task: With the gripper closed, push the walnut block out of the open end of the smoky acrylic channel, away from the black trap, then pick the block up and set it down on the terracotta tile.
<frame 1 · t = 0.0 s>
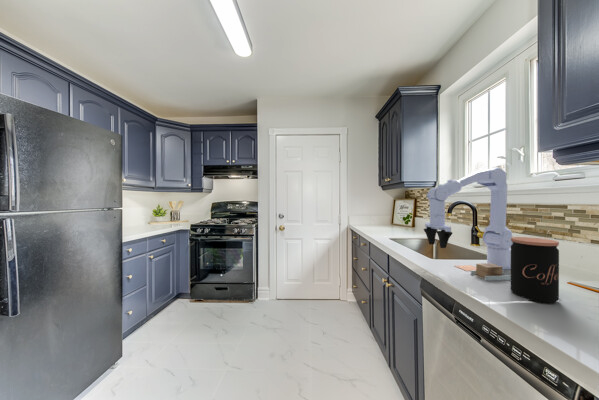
hand: (437, 246, 102), 10 cm above the worktop, tool pointing down, fingers open, 7 cm apart
coffee jar: (533, 297, 73), on the worktop
walnut block: (489, 276, 90), point 1 cm above the worktop, touching acrylic channel
acrylic channel: (494, 278, 90), on the worktop
terracotta tile: (469, 269, 101), on the worktop
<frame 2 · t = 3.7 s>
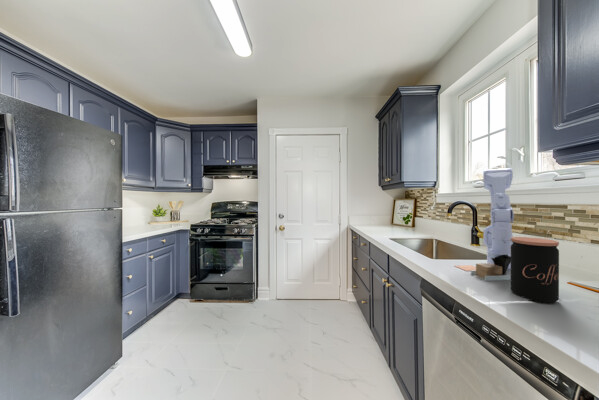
hand: (501, 274, 90), 1 cm above the worktop, tool pointing down, fingers closed
walnut block: (488, 276, 90), point 1 cm above the worktop, touching gripper
everything else where it was.
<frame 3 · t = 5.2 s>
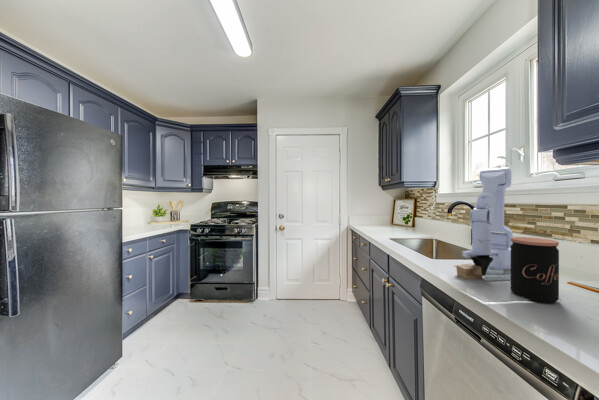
hand: (481, 275, 90), 1 cm above the worktop, tool pointing down, fingers closed
walnut block: (469, 277, 90), on the worktop, tilted 6°, touching gripper
everything else where it was.
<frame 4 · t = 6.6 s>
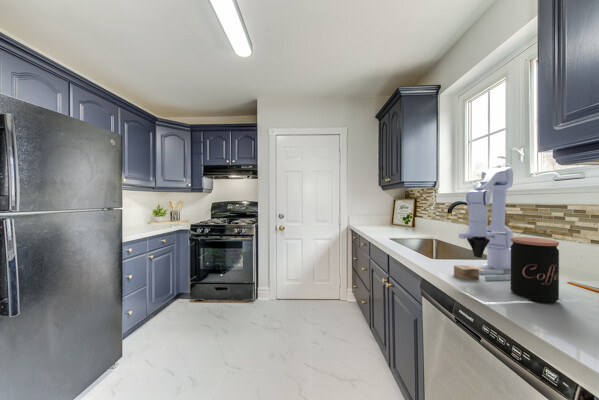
hand: (477, 257, 90), 8 cm above the worktop, tool pointing down, fingers closed
walnut block: (466, 278, 90), on the worktop
everything else where it was.
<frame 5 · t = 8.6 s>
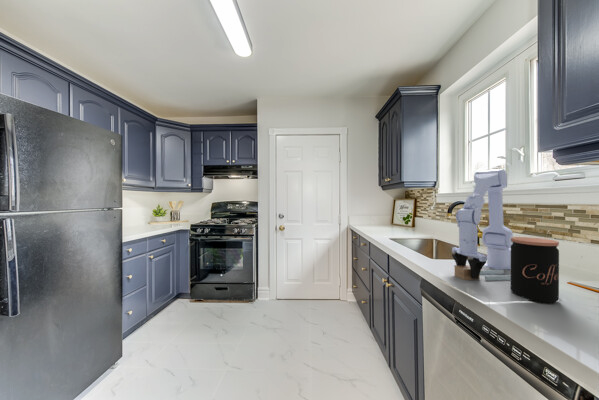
hand: (468, 275, 90), 1 cm above the worktop, tool pointing down, fingers open, 6 cm apart
walnut block: (466, 278, 90), on the worktop, touching gripper
everything else where it was.
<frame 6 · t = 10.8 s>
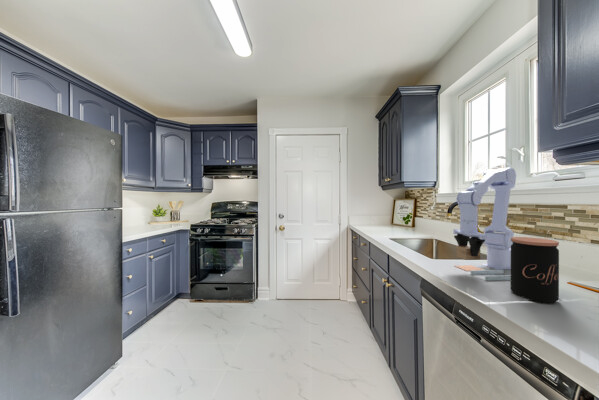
hand: (468, 254, 95), 8 cm above the worktop, tool pointing down, fingers closed on walnut block, 5 cm apart
walnut block: (468, 258, 95), point 7 cm above the worktop, touching gripper
everything else where it was.
when the fingers open (3 cm above the worktop, at t = 12.7 s): walnut block drops 1 cm, resting on terracotta tile.
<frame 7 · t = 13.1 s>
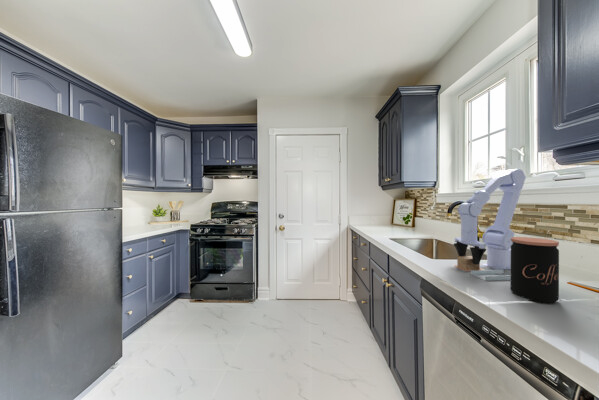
hand: (469, 261, 101), 3 cm above the worktop, tool pointing down, fingers open, 7 cm apart
walnut block: (468, 267, 101), point 1 cm above the worktop, touching terracotta tile
everything else where it was.
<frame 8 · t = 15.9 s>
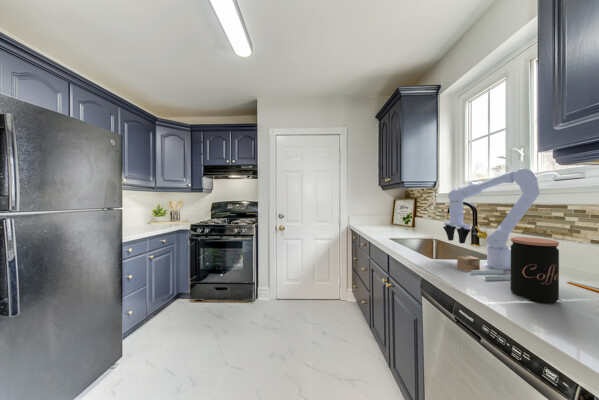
hand: (456, 241, 115), 9 cm above the worktop, tool pointing down, fingers open, 7 cm apart
nothing on the worktop moved.
at the end: walnut block 0.3 cm off-centre on the terracotta tile, point 0.8 cm above the terracotta tile's base; the gripper is holding nothing; walnut block tilted 0° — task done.
